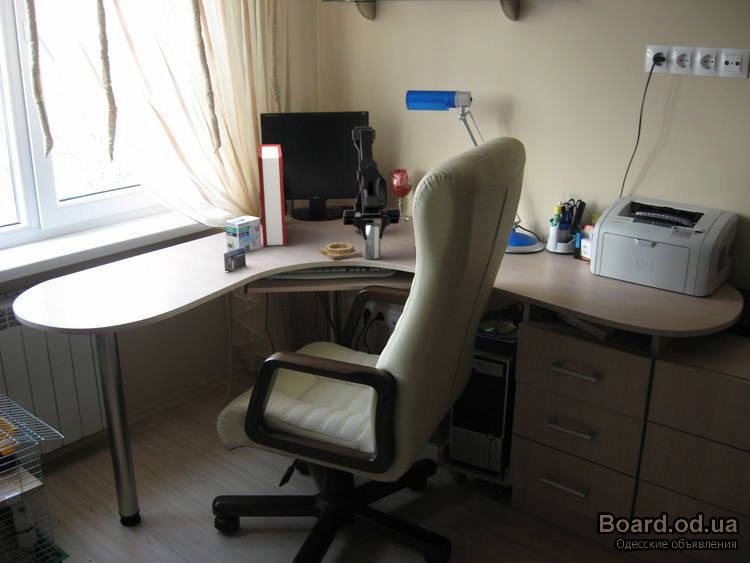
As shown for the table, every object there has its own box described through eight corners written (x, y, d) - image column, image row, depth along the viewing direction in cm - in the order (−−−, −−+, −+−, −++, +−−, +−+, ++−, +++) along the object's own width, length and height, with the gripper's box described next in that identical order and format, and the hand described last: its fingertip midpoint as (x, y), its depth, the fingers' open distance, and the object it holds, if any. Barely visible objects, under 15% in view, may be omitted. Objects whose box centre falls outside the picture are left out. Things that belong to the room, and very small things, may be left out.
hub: (318, 251, 253) (318, 244, 253) (344, 247, 258) (344, 240, 257) (333, 260, 244) (333, 252, 243) (360, 256, 248) (360, 248, 247)
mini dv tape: (228, 272, 232) (227, 254, 230) (225, 271, 233) (223, 253, 231) (246, 265, 239) (244, 248, 237) (242, 265, 240) (241, 247, 238)
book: (286, 246, 260) (281, 155, 250) (263, 247, 259) (258, 156, 249) (284, 227, 286) (280, 144, 275) (263, 228, 285) (258, 144, 274)
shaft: (362, 256, 247) (362, 224, 243) (375, 254, 249) (375, 222, 246) (370, 260, 243) (369, 227, 239) (383, 257, 245) (383, 225, 241)
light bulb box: (239, 254, 251) (237, 223, 248) (226, 251, 255) (224, 220, 252) (262, 247, 259) (260, 217, 256) (249, 244, 263) (247, 214, 260)
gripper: (342, 186, 241) (345, 227, 234) (399, 184, 243) (403, 225, 236) (342, 204, 251) (344, 244, 244) (396, 202, 253) (400, 242, 246)
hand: (373, 238), depth 242 cm, fingers closed on shaft, 5 cm apart
